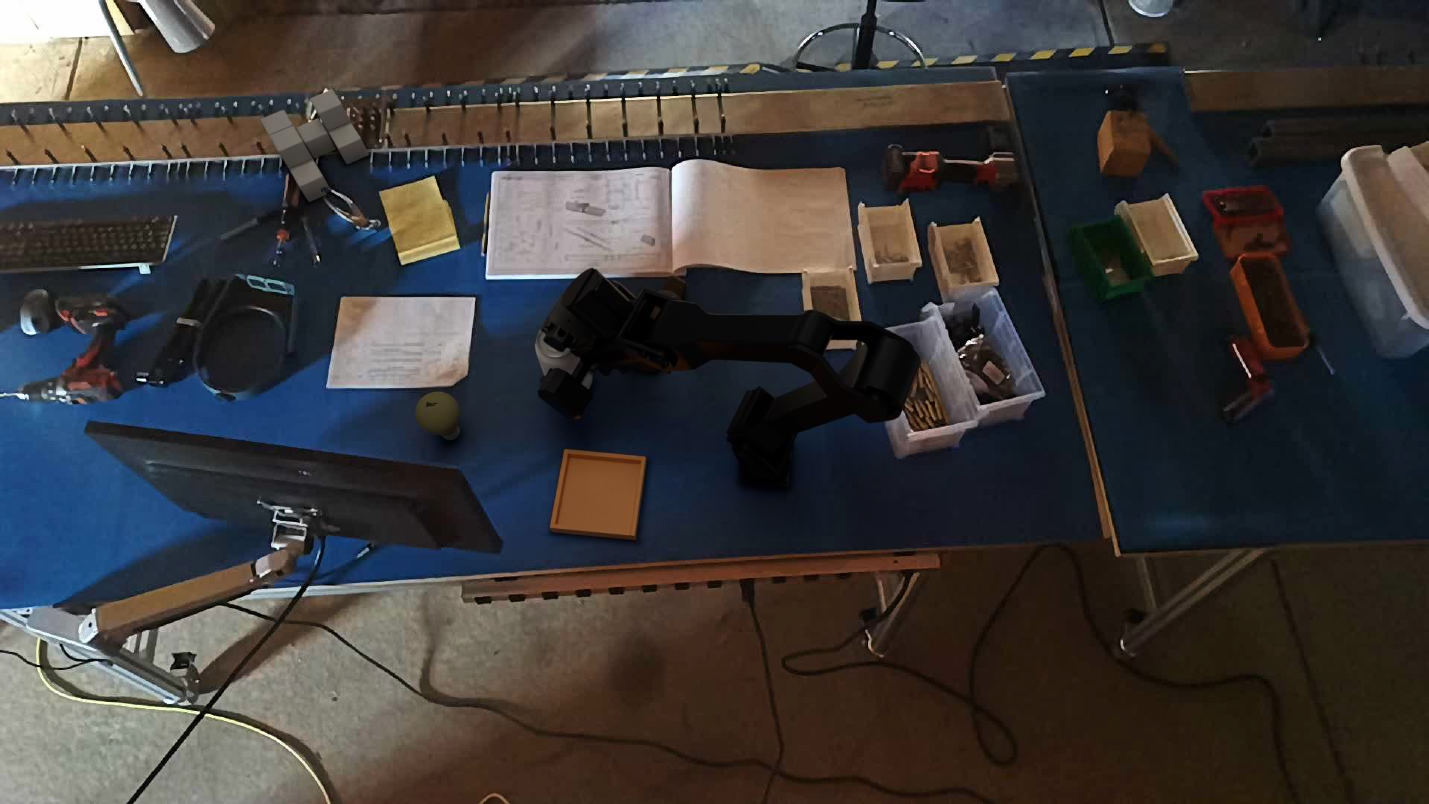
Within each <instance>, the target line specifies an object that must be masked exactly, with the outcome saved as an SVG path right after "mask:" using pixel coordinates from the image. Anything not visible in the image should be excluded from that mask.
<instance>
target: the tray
mask: <svg viewBox="0 0 1429 804" xmlns="http://www.w3.org/2000/svg"><path fill="white" fill-rule="evenodd" d="M562 456H563V457H562V460H561V466H560V469H559V470H560V471H559V476H558V480H557V481H558V482H557V486H556V493H555V498H554V503H553V509H552V514H551V520H550V525H549V529H550V531H551V532H552V533H555V534H556V533H557V534H565V535H577V536H588V537H598V538H607V539H608V538H609V539H618V540H619V539H620V540H629V541H630V540H631V541H636V540H637V535H638V529H639V528H638V527H639V521H640V514H641V507H642V499H643V493H644V487H645V486H644V485H645V478H646V471H647V465H648V460H647V457H646V456H643V455H642V456H641V455H632V454H623V453H622V454H620V453H611V452H599V451H591V450H579V449H567V448H565V449H564V450H563V454H562Z"/></svg>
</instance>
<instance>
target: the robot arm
mask: <svg viewBox="0 0 1429 804" xmlns="http://www.w3.org/2000/svg"><path fill="white" fill-rule="evenodd" d="M657 292H658V291H654V290H651V289H648V288H642V290H641V292H640V293H639V294H638V297H636V296H635V294H633V293H632V292H631V291H630V290H629V289H628V288H627V287H626V286H625V285H623V283H622V282H620V281H617V280H609V279H607V277H606V276H604V275H603V274H602V273H601V272H600V271H599V270H598V269H597V268H594V267H589V268H588V269H585V270H584V271H582V272H581V273H580V274H578V275H577V276H576V277H575V278H574V279H573V280H572V282H571V283H569V284H568V286H567V287H566V289H565V291H564V292H563V293H562V294H561V295H560V297H558V299H557V301H556V302H555V303H554V305H553V307H552V309H551V310H550V312H549V313H548V315H547V316H546V318H545V320H544V321H543V325H542V326H541V328H540V329H541V331H542V332H543V333H545V337H544V338H543V341H544V342H545V343H546V344H547V345H549V346H551V347H552V348H554V349H555V350H557V351H559V352H564V351H565V349H566V348H569V349H570V350H569V351H570V352H571V353H572V354H573V355H575V356H576V357H580V361H579V363H578V364H577V366H576V368H575V369H574V371H573V373H572V374H569V373H568V372H567V371H564V370H562V369H560V368H554V369H552V368H550V369H549V371H548V372H547V374H546V376H544V375H543V376H542V377H540V378H539V381H540V384H539V385H540V386H539V387H538V389H537V395H538V396H537V397H538V398H539V399H541V400H542V401H544V403H546V404H547V405H548V406H550V407H551V408H552V409H554V410H555V411H556V412H558V414H560V415H561V416H563V418H565V419H566V420H578V419H582V417H583V415H584V413H585V412H586V410H587V409H588V407H589V405H590V403H591V401H592V399H593V398H594V394H593V391H591V390H590V388H589V389H588V388H586V387H587V385H588V383H589V382H590V380H591V378H592V379H593V376H594V375H595V373H596V372H599V373H600V374H601V375H602V376H603V377H608V376H610V375H611V373H612V371H613V369H616V370H617V371H618V372H619V373H621V374H622V375H627V374H628V373H629V371H630V370H631V368H632V367H634V366H638V365H646V364H647V365H649V366H652V367H654V368H656V369H657V370H660V371H661V372H664V373H665V374H666V375H670V374H671V373H672V372H684V371H693V370H697V369H699V368H700V367H702V366H704V365H705V364H707V363H709V362H711V361H735V362H737V361H738V362H754V363H755V362H756V363H776V364H791V365H793V366H795V367H797V368H799V369H801V370H803V371H804V372H806V373H808V374H810V375H811V377H812V378H813V381H812V382H809V383H807V384H804V385H802V386H800V387H797V388H796V389H793V390H790V391H788V392H786V393H783V394H781V395H779V396H777V395H775V394H774V393H773V392H771V391H770V390H768V389H764V388H763V387H762V386H761V385H758V386H757V387H756V388H754V389H747V390H746V391H745V393H744V395H743V397H742V399H741V401H740V403H739V405H738V407H737V409H736V411H735V413H734V415H733V417H732V419H731V421H730V423H729V425H728V427H727V430H726V431H725V432H726V434H727V436H726V439H725V440H726V442H727V443H730V445H731V448H730V449H731V451H732V453H733V456H735V458H736V460H737V463H738V468H739V469H741V477H740V481H741V483H742V484H747V485H748V484H749V485H759V486H769V487H780V488H787V487H788V486H789V484H790V472H791V466H792V461H793V455H794V454H793V453H794V443H795V441H796V439H797V436H798V434H799V433H802V432H805V431H808V430H812V429H815V428H817V427H821V426H823V425H827V424H829V423H832V422H835V421H838V420H840V419H841V420H842V419H844V418H846V417H850V416H853V415H855V416H857V417H859V418H860V419H861V420H862V421H864V422H866V423H867V424H876V423H883V422H891V421H894V420H896V419H899V418H900V417H901V415H902V413H903V410H904V408H905V406H906V402H907V400H908V397H909V395H910V393H911V390H912V388H913V385H914V382H915V380H916V377H917V375H918V372H919V370H920V367H921V365H922V360H921V359H922V358H921V356H920V355H919V353H918V352H917V351H916V350H915V347H914V345H913V344H912V343H911V341H909V340H907V339H906V338H905V337H903V336H901V335H899V334H897V333H896V332H893V331H891V330H889V329H887V328H885V327H884V326H882V325H880V324H877V323H876V322H874V321H871V320H838V319H836V318H834V317H832V316H830V315H828V314H826V313H824V312H822V311H819V310H817V309H805V310H804V311H803V312H802V313H801V314H773V313H772V314H769V313H768V314H767V313H766V314H761V313H759V314H757V313H756V314H750V313H749V314H747V313H746V314H744V313H743V314H741V313H739V314H737V313H736V314H734V313H733V314H731V313H728V314H727V313H721V314H720V313H711V312H708V311H707V310H706V309H705V308H704V307H703V306H701V304H699V303H698V302H693V301H685V300H683V299H681V300H679V299H676V298H673V297H670V296H667V295H664V294H660V293H657ZM655 306H657V307H659V308H661V309H660V311H659V312H658V314H657V316H656V318H655V319H654V318H652V317H650V315H651V313H652V312H653V310H654V308H655ZM831 341H859V342H861V343H862V345H861V346H860V347H858V349H857V350H856V351H855V352H854V353H853V355H852V356H851V357H850V358H849V359H848V361H847V362H846V363H845V365H844V366H843V367H842V368H841V369H840V370H837V371H836V370H835V369H834V368H833V366H832V365H831V364H830V362H829V361H828V359H827V358H826V357H825V356H824V355H825V353H826V351H827V348H828V346H829V344H830V343H831ZM744 479H745V480H744ZM785 483H786V484H785Z"/></svg>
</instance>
